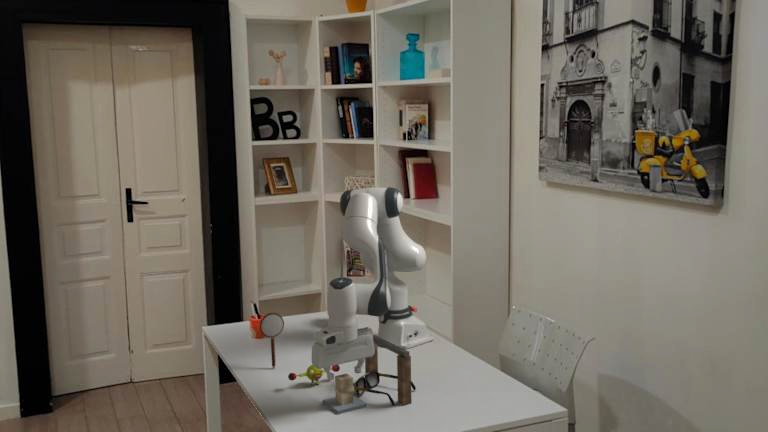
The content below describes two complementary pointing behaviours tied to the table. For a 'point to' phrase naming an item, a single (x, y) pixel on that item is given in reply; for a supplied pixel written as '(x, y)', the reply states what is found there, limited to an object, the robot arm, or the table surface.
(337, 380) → the block
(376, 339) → the rod
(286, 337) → the table surface
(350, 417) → the table surface
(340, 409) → the pad
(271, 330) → the magnifying glass
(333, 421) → the table surface
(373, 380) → the sunglasses
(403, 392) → the rod stand
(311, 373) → the toy figure
